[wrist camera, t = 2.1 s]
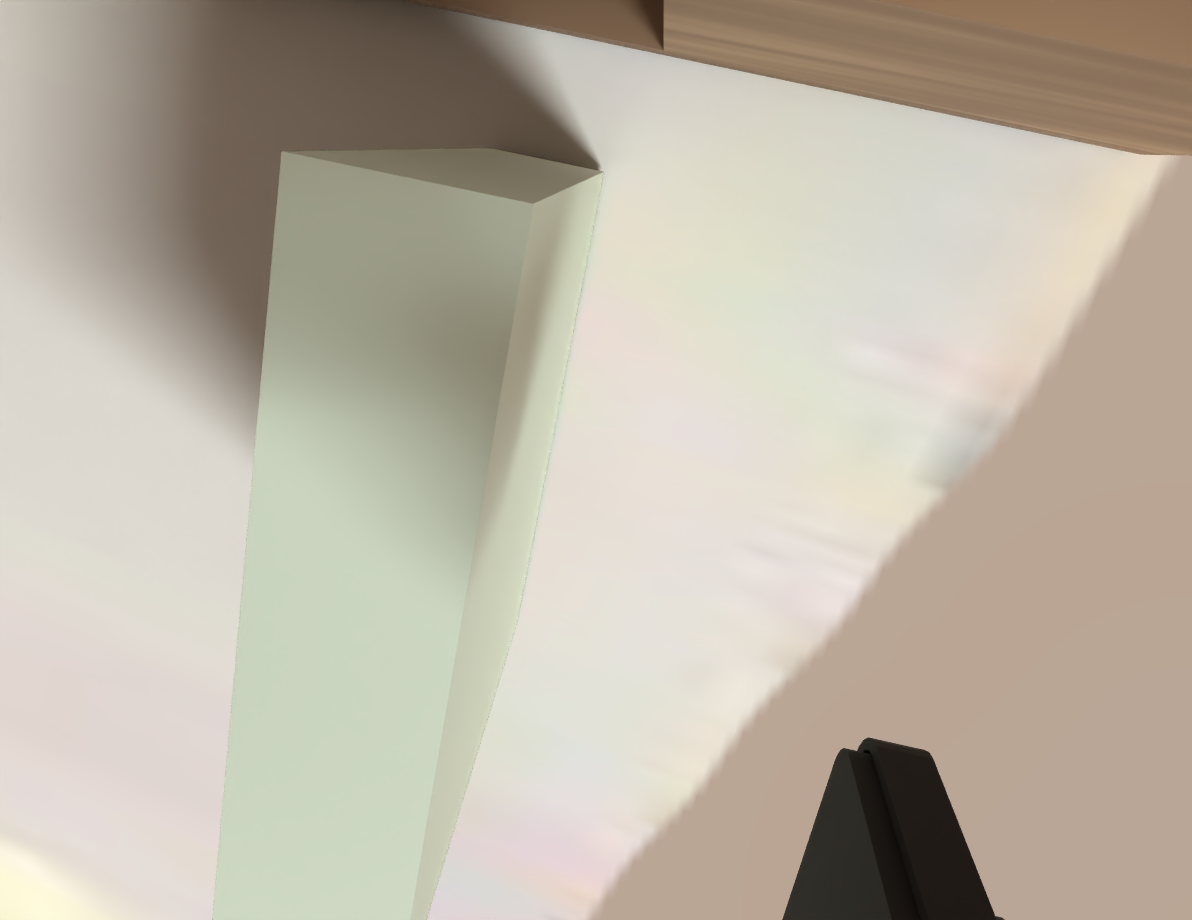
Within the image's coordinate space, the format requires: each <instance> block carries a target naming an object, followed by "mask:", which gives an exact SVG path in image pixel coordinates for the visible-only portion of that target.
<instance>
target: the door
mask: <svg viewBox="0 0 1192 920" xmlns="http://www.w3.org/2000/svg"><path fill="white" fill-rule="evenodd" d="M603 175H604V172H603V171H598V170H593V169H589V168H584V167H579V166H574V165H569V164H565V163H560V162H555V161H550V160H545V159H541V158H536V157H531V156H526V155H522V154H517V153H512V152H507V151H502V150H498V149H493V148H451V149H389V150H328V151H281V162H280V173H279V184H278V195H277V206H276V217H275V228H274V239H273V250H272V261H271V272H270V283H269V294H268V306H267V317H266V328H265V339H264V350H263V361H262V372H261V383H260V394H259V405H258V416H257V427H256V439H255V450H254V461H253V472H252V483H251V494H250V505H249V516H248V527H247V538H246V549H245V560H244V572H243V583H242V594H241V605H240V616H239V627H238V638H237V649H236V660H235V671H234V682H233V693H232V705H231V716H230V727H229V738H228V749H227V760H226V771H225V782H224V793H223V804H222V815H221V826H220V837H219V849H218V860H217V871H216V882H215V893H214V904H213V915H212V920H427V917H428V914H429V911H430V907H431V904H432V901H433V897H434V894H435V891H436V888H437V884H438V881H439V878H440V874H441V871H442V868H443V865H444V861H445V858H446V855H447V851H448V848H449V845H450V842H451V838H452V835H453V832H454V829H455V825H456V822H457V819H458V815H459V812H460V809H461V806H462V802H463V799H464V796H465V792H466V789H467V786H468V783H469V779H470V776H471V773H472V770H473V766H474V763H475V760H476V756H477V753H478V750H479V747H480V743H481V740H482V737H483V733H484V730H485V727H486V724H487V720H488V717H489V714H490V710H491V707H492V704H493V701H494V697H495V694H496V691H497V688H498V684H499V681H500V678H501V674H502V671H503V668H504V665H505V661H506V658H507V655H508V651H509V648H510V645H511V642H512V638H513V635H514V632H515V629H516V625H517V622H518V616H519V611H520V606H521V601H522V596H523V591H524V585H525V580H526V575H527V570H528V565H529V559H530V554H531V549H532V544H533V539H534V533H535V528H536V523H537V518H538V513H539V507H540V502H541V497H542V492H543V487H544V481H545V476H546V471H547V466H548V461H549V455H550V450H551V445H552V440H553V435H554V429H555V424H556V419H557V414H558V409H559V403H560V398H561V393H562V388H563V383H564V378H565V372H566V367H567V362H568V357H569V352H570V346H571V341H572V336H573V331H574V326H575V320H576V315H577V310H578V305H579V300H580V294H581V289H582V284H583V279H584V274H585V268H586V263H587V258H588V253H589V248H590V242H591V237H592V232H593V227H594V222H595V216H596V211H597V206H598V201H599V196H600V190H601V185H602V180H603Z"/></svg>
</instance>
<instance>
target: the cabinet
mask: <svg viewBox="0 0 1192 920" xmlns="http://www.w3.org/2000/svg"><path fill="white" fill-rule="evenodd" d="M403 1H408V2H413V3H418V4H422V5H427V6H432V7H437V8H441V9H446V10H451V11H456V12H461V13H465V14H470V15H475V16H480V17H485V18H489V19H494V20H499V21H504V22H509V23H513V24H518V25H523V26H528V27H533V28H537V29H542V30H547V31H552V32H556V33H561V34H566V35H571V36H576V37H580V38H585V39H590V40H595V41H600V42H604V43H609V44H614V45H619V46H624V47H628V48H633V49H638V50H643V51H647V52H652V53H657V54H662V55H667V56H671V57H676V58H681V59H686V60H691V61H695V62H700V63H705V64H710V65H715V66H719V67H724V68H729V69H734V70H738V71H743V72H748V73H753V74H758V75H762V76H767V77H772V78H777V79H782V80H786V81H791V82H796V83H801V84H806V85H810V86H815V87H820V88H825V89H830V90H834V91H839V92H844V93H849V94H853V95H858V96H863V97H868V98H873V99H877V100H882V101H887V102H892V103H897V104H901V105H906V106H911V107H916V108H921V109H925V110H930V111H935V112H940V113H944V114H949V115H954V116H959V117H964V118H968V119H973V120H978V121H983V122H988V123H992V124H997V125H1002V126H1007V127H1012V128H1016V129H1021V130H1026V131H1031V132H1036V133H1040V134H1045V135H1050V136H1055V137H1059V138H1064V139H1069V140H1074V141H1079V142H1083V143H1088V144H1093V145H1098V146H1103V147H1107V148H1112V149H1117V150H1122V151H1127V152H1131V153H1136V154H1144V155H1192V0H403Z"/></svg>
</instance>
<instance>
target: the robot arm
mask: <svg viewBox="0 0 1192 920" xmlns="http://www.w3.org/2000/svg"><path fill="white" fill-rule="evenodd" d="M782 920H1004V919H1003V918H1001V917H997V916H995V914H994V912H993V909H992V907H991V904H990V902H989V899H988V897H987V894H986V891H985V889H984V886H983V884H982V882H981V879H980V876H979V874H978V871H977V869H976V866H975V864H974V861H973V859H972V856H971V853H970V851H969V848H968V846H967V843H966V841H965V838H964V836H963V833H962V831H961V828H960V826H959V823H958V821H957V818H956V815H955V813H954V810H953V808H952V805H951V803H950V800H949V798H948V795H947V793H946V790H945V788H944V785H943V782H942V780H941V778H940V775H939V773H938V770H937V767H936V765H935V762H934V760H933V758H932V756H931V755H930V753H929V752H927V751H925V750H922V749H918V748H913V747H908V746H904V745H899V744H895V743H891V742H886V741H882V740H877V739H873V738H866V739H864V740H863V742H862V743H861V745H860V746H859V748H858V750H857V751H854V750H850V749H845V748H843V749H841V750H840V752H839V753H838V755H837V757H836V759H835V762H834V765H833V768H832V771H831V774H830V778H829V780H828V783H827V786H826V789H825V792H824V795H823V799H822V801H821V804H820V807H819V810H818V813H817V816H816V819H815V823H814V825H813V829H812V832H811V835H810V838H809V841H808V844H807V847H806V850H805V853H804V856H803V859H802V862H801V865H800V868H799V871H798V874H797V877H796V880H795V883H794V886H793V889H792V892H791V895H790V898H789V901H788V904H787V907H786V911H785V913H784V917H783V919H782Z"/></svg>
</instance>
